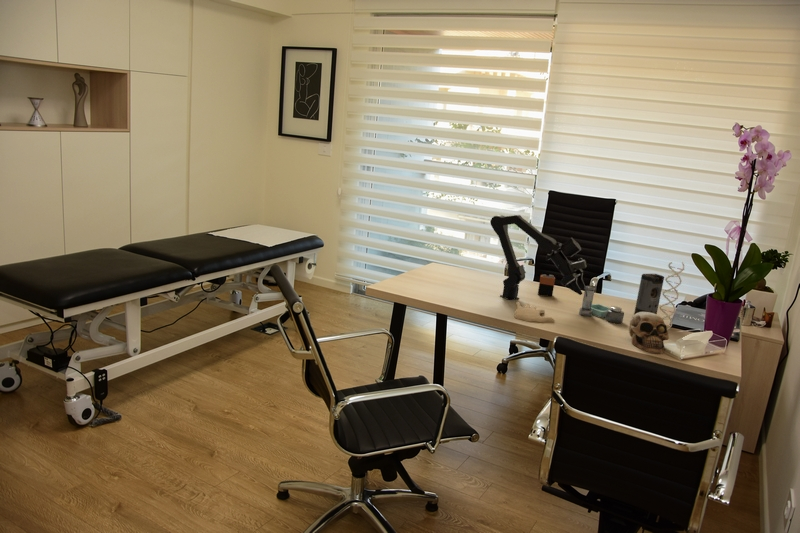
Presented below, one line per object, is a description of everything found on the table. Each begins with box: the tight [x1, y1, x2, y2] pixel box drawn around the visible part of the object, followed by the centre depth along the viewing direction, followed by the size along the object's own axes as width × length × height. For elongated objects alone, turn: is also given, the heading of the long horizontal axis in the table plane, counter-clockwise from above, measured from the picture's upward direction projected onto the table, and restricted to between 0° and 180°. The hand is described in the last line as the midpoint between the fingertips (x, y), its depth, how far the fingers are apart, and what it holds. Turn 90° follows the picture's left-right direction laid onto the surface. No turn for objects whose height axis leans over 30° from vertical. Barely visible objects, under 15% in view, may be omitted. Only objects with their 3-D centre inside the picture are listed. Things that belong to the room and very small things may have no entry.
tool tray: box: [591, 303, 611, 318], centre depth 273 cm, size 10×10×3 cm
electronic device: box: [633, 273, 665, 316], centre depth 270 cm, size 9×6×20 cm, turn 117°
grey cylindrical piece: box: [578, 285, 596, 318], centre depth 267 cm, size 5×5×12 cm
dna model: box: [659, 261, 685, 331], centre depth 250 cm, size 7×6×30 cm
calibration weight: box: [604, 305, 625, 325], centre depth 262 cm, size 7×7×6 cm
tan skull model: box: [628, 312, 670, 355], centre depth 235 cm, size 16×17×13 cm
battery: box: [537, 273, 556, 298], centre depth 295 cm, size 4×7×10 cm, turn 75°
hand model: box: [514, 301, 555, 323], centre depth 258 cm, size 19×5×20 cm
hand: (583, 292), depth 267 cm, fingers open, 9 cm apart
